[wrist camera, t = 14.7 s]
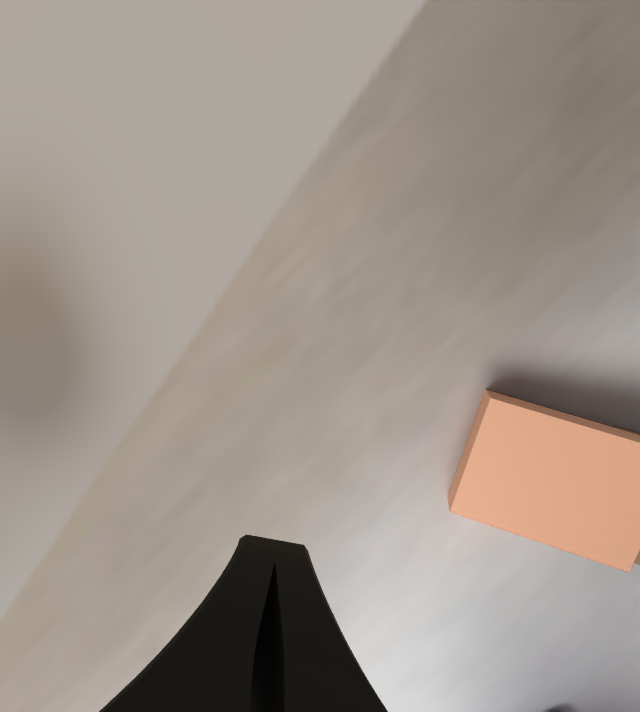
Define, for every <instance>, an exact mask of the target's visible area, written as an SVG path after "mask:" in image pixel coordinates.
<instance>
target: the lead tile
mask: <svg viewBox="0 0 640 712" xmlns="http://www.w3.org/2000/svg"><path fill="white" fill-rule="evenodd" d="M448 503H449V510H450V512H452V513H455V514H457V515H460V516H463V517H466V518H469V519H472V520H475V521H478V522H481V523H484V524H487V525H490V526H493V527H496V528H499V529H502V530H505V531H508V532H511V533H514V534H517V535H520V536H523V537H526V538H529V539H532V540H535V541H537V542H540V543H543V544H546V545H549V546H552V547H555V548H558V549H561V550H564V551H567V552H570V553H573V554H576V555H579V556H582V557H585V558H588V559H591V560H594V561H597V562H600V563H603V564H606V565H609V566H612V567H614V568H617V569H620V570H623V571H626V572H630V570H631V567H632V565H633V563H634V561H635V559H636V557H637V555H638V552H639V550H640V435H637V434H634V433H631V432H627V431H624V430H621V429H617V428H614V427H610V426H607V425H604V424H600V423H597V422H594V421H590V420H587V419H584V418H580V417H577V416H573V415H570V414H567V413H563V412H560V411H557V410H553V409H550V408H547V407H543V406H540V405H537V404H533V403H530V402H526V401H523V400H520V399H516V398H513V397H510V396H506V395H503V394H500V393H496V392H493V391H489V390H486V389H485V392H484V395H483V398H482V401H481V404H480V406H479V409H478V412H477V415H476V418H475V421H474V423H473V426H472V429H471V432H470V435H469V437H468V440H467V443H466V446H465V449H464V452H463V454H462V457H461V460H460V463H459V466H458V469H457V471H456V474H455V477H454V480H453V483H452V485H451V488H450V491H449V494H448Z"/></svg>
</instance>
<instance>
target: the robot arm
mask: <svg viewBox="0 0 640 712" xmlns="http://www.w3.org/2000/svg"><path fill="white" fill-rule="evenodd" d="M99 712H388V711H387V710H386V708H385V707H384V705H383V703H382V702H381V700H380V699H379V697H378V696H377V694H376V693H375V691H374V689H373V688H372V686H371V684H370V683H369V681H368V679H367V678H366V676H365V674H364V673H363V671H362V669H361V667H360V666H359V664H358V662H357V660H356V658H355V657H354V655H353V653H352V651H351V649H350V647H349V646H348V644H347V642H346V640H345V638H344V636H343V634H342V632H341V630H340V628H339V626H338V624H337V621H336V619H335V617H334V615H333V613H332V611H331V609H330V607H329V605H328V602H327V600H326V598H325V595H324V593H323V591H322V588H321V586H320V583H319V581H318V578H317V576H316V573H315V571H314V568H313V565H312V562H311V559H310V556H309V553H308V550H307V549H306V547H305V546H304V545H301V544H296V543H290V542H285V541H279V540H273V539H268V538H262V537H257V536H251V535H245V536H243V537H242V538H240V540H239V543H238V546H237V548H236V550H235V552H234V554H233V556H232V558H231V560H230V561H229V563H228V565H227V566H226V568H225V570H224V571H223V573H222V575H221V576H220V578H219V579H218V580H217V582H216V583H215V585H214V586H213V587H212V589H211V590H210V592H209V593H208V595H207V596H206V597H205V599H204V600H203V602H202V603H201V604H200V605H199V607H198V608H197V609H196V610H195V612H194V613H193V614H192V615H191V617H190V618H189V619H188V620H187V621H186V623H185V624H184V625H183V626H182V628H181V629H180V630H179V631H178V632H177V634H176V635H175V636H174V637H173V638H172V639H171V640H170V642H169V643H168V644H167V645H166V646H165V647H164V648H163V649H162V650H161V652H160V653H159V654H158V655H157V656H156V657H155V658H154V659H153V660H152V661H151V662H150V663H149V664H148V665H147V666H146V667H145V668H144V669H143V670H142V671H141V672H140V673H139V674H138V675H137V676H136V677H135V678H134V679H133V680H132V681H131V682H130V683H129V684H128V685H127V686H126V687H125V688H124V689H123V690H122V691H121V692H120V693H119V694H118V695H116V696H115V697H114V698H113V699H112V700H111V701H110V702H109V703H108V704H107V705H106V706H105V707H104V708H103V709H101V710H100V711H99Z"/></svg>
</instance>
